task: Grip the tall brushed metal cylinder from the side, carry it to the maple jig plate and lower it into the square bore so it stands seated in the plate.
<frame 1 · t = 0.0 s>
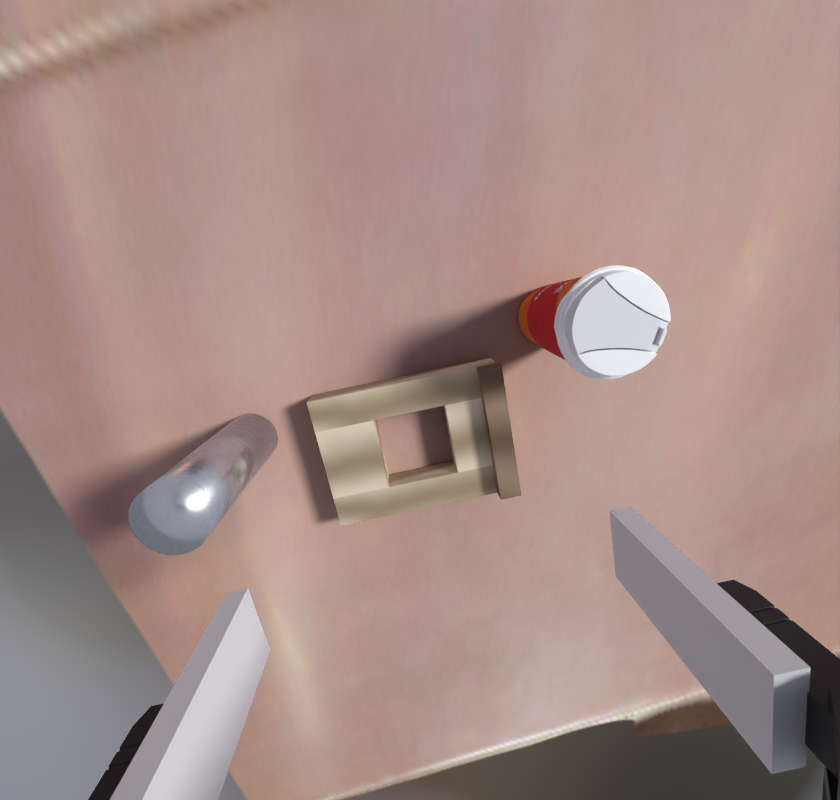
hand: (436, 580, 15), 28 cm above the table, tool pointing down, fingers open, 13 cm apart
jig: (414, 436, 43), on the table
paper cup: (544, 315, 41), on the table
brushed metal cylinder: (252, 437, 42), on the table
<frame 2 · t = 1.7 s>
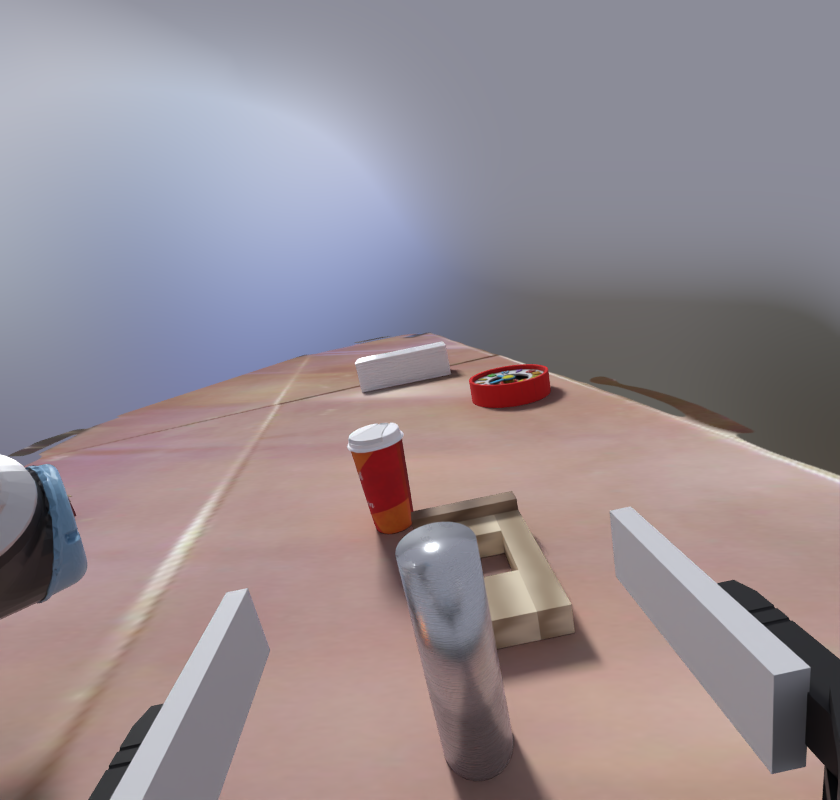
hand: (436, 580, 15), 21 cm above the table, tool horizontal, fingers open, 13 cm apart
jig: (481, 579, 45), on the table
paper cup: (395, 523, 59), on the table
toy clock: (510, 396, 109), on the table
brushed metal cylinder: (477, 740, 29), on the table
stack of papers: (406, 381, 152), on the table
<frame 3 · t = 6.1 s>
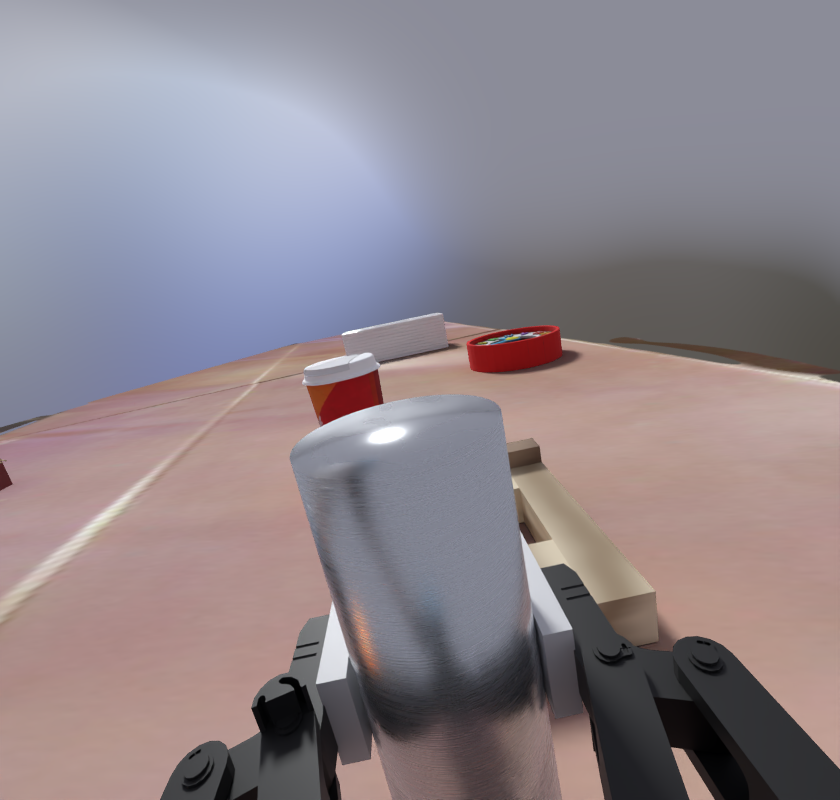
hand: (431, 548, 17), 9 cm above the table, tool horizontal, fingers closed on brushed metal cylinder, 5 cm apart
jig: (490, 558, 29), on the table
paper cup: (371, 491, 44), on the table
toy clock: (515, 362, 93), on the table
stack of papers: (398, 356, 137), on the table
when the fingers open (10 cm above the table, at t = 11.5 s): brushed metal cylinder drops 1 cm, resting in jig.
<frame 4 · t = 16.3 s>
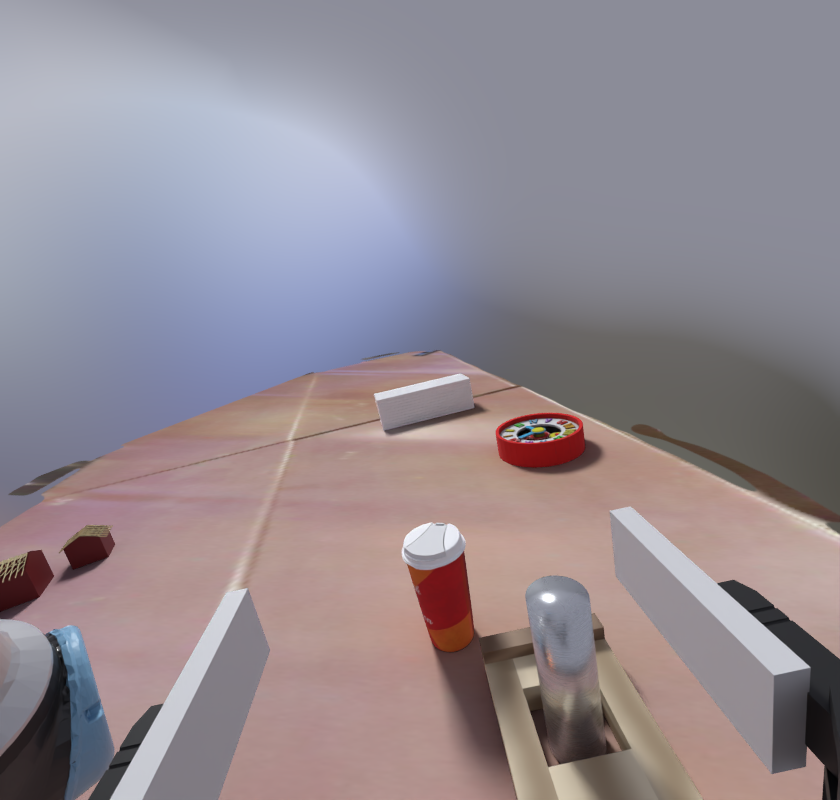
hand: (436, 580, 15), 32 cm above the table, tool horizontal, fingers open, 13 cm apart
jig: (575, 741, 38), on the table
paper cup: (452, 635, 53), on the table
toy clock: (541, 450, 101), on the table
brushed metal cylinder: (576, 741, 38), resting in jig
stack of papers: (426, 416, 146), on the table
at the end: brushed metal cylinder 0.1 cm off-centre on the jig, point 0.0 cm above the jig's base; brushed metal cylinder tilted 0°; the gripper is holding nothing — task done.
